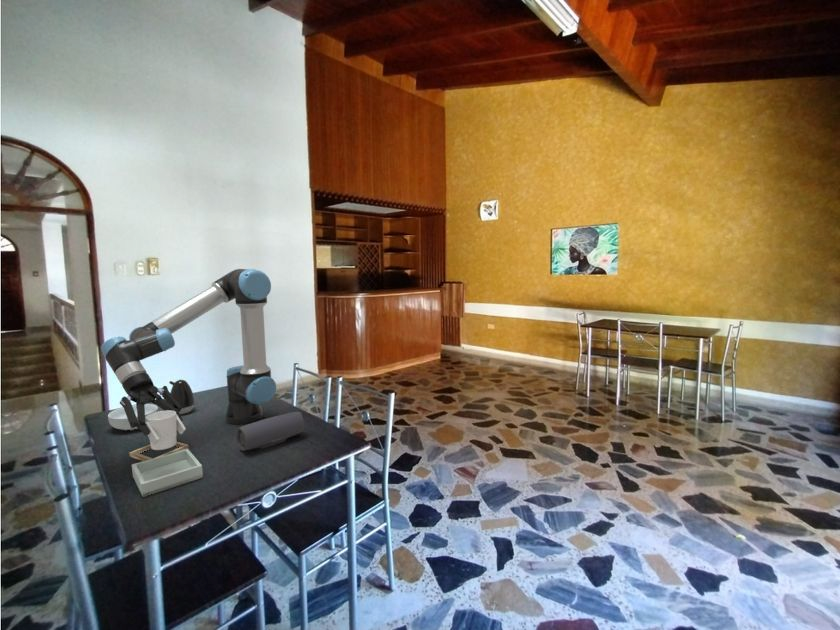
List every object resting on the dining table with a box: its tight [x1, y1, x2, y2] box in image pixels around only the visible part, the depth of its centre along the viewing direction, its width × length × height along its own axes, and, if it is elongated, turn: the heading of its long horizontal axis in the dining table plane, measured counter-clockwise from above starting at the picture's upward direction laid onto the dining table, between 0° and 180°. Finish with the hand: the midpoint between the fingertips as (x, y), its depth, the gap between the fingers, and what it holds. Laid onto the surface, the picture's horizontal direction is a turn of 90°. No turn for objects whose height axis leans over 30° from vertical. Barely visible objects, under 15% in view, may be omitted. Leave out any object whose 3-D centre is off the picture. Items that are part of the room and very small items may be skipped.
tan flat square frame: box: [128, 440, 189, 462], centre depth 146 cm, size 13×13×2 cm
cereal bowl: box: [107, 403, 159, 431], centre depth 169 cm, size 17×17×7 cm
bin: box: [131, 449, 204, 498], centre depth 129 cm, size 16×16×4 cm
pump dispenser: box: [168, 379, 196, 415], centre depth 184 cm, size 10×10×15 cm
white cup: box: [146, 410, 178, 451], centre depth 127 cm, size 8×8×10 cm
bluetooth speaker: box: [236, 411, 306, 452], centre depth 153 cm, size 23×9×10 cm, turn 135°
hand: (170, 436), depth 126 cm, fingers closed on white cup, 8 cm apart
